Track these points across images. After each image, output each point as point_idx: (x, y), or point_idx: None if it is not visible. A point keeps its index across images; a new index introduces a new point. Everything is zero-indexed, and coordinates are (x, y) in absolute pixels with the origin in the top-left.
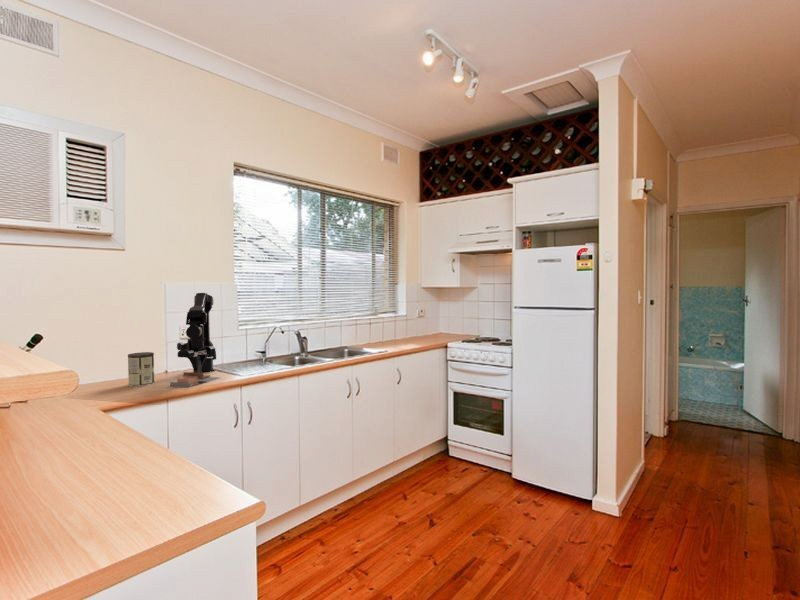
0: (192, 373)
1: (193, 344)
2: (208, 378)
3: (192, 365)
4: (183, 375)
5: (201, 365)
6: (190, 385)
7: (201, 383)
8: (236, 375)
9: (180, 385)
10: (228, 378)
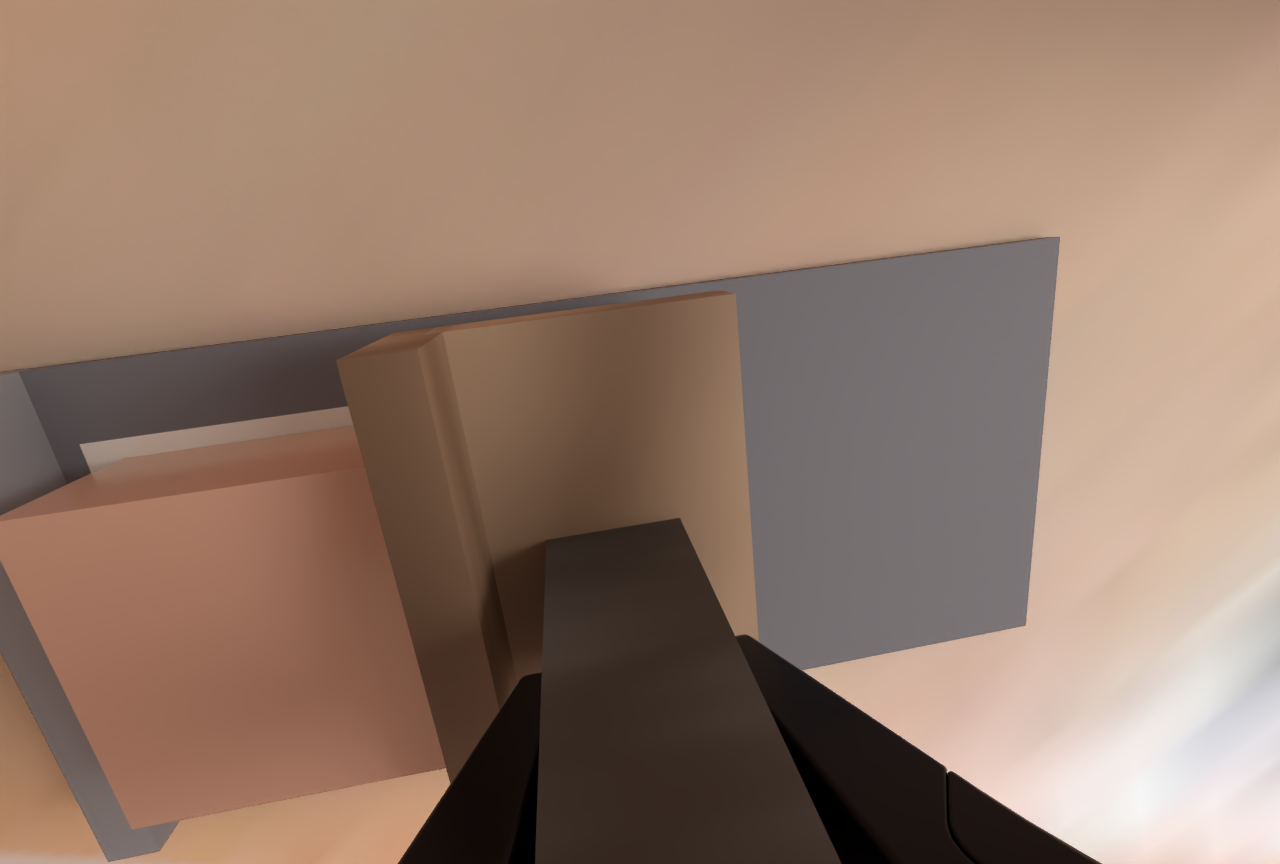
0: (423, 676)
1: None
2: (910, 481)
3: (431, 840)
4: (366, 348)
5: None
6: None
7: None
8: (1271, 625)
9: None
10: (1034, 701)
